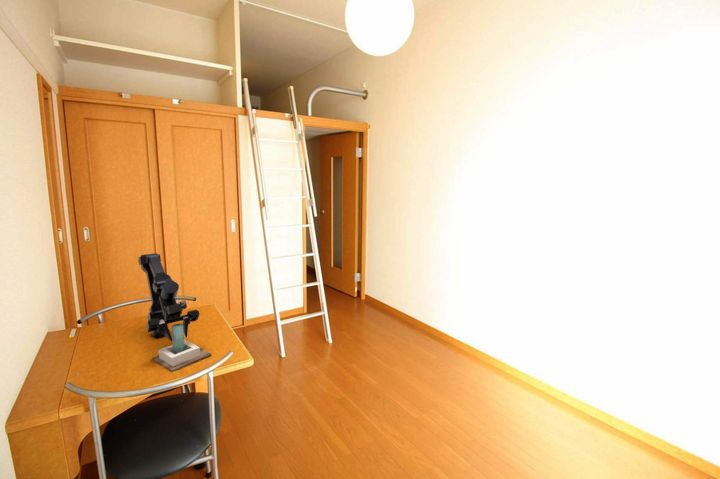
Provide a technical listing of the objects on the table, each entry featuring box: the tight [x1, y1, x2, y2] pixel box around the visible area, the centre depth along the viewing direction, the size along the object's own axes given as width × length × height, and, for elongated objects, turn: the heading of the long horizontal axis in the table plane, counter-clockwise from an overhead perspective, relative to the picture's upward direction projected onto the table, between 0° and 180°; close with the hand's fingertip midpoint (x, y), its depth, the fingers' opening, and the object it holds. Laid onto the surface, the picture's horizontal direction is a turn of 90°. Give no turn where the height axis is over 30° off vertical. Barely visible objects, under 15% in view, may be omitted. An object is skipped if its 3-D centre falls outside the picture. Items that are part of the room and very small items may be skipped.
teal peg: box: [171, 323, 185, 354], centre depth 141 cm, size 4×4×13 cm
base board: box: [151, 347, 212, 373], centre depth 143 cm, size 16×16×1 cm
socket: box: [157, 339, 201, 366], centre depth 142 cm, size 11×11×4 cm
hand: (179, 339), depth 140 cm, fingers open, 5 cm apart
